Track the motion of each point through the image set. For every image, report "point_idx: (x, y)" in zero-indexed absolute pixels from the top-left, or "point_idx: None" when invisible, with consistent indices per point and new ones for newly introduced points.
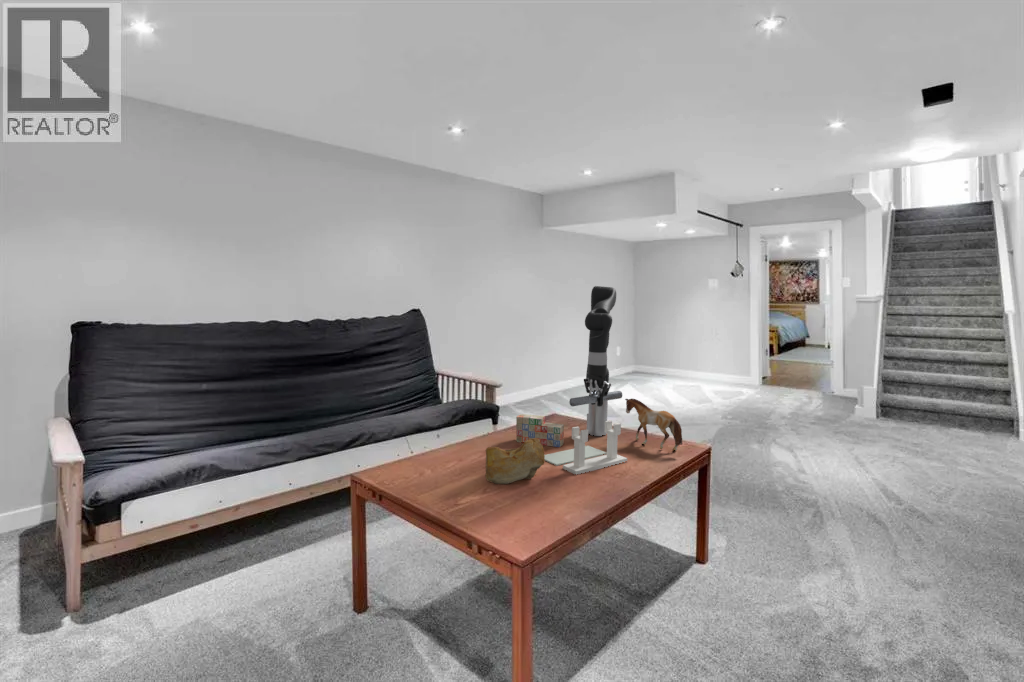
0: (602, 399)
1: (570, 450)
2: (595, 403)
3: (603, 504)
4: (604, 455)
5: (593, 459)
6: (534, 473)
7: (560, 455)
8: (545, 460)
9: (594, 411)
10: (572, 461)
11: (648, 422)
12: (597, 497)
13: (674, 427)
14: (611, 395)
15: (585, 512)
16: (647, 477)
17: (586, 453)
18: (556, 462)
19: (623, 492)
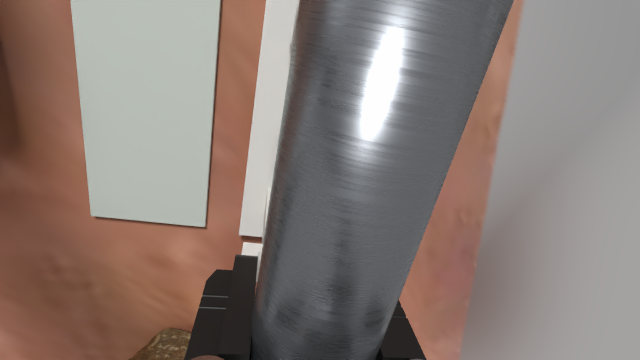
0: (414, 348)
1: (92, 61)
2: (257, 259)
3: (456, 306)
4: (266, 26)
5: (269, 110)
6: None
7: (129, 148)
8: (139, 218)
9: None
10: (209, 158)
11: None
12: (429, 292)
13: None
14: (467, 118)
15: (443, 348)
16: (487, 87)
17: (173, 39)
18: (189, 214)
19: (467, 232)
